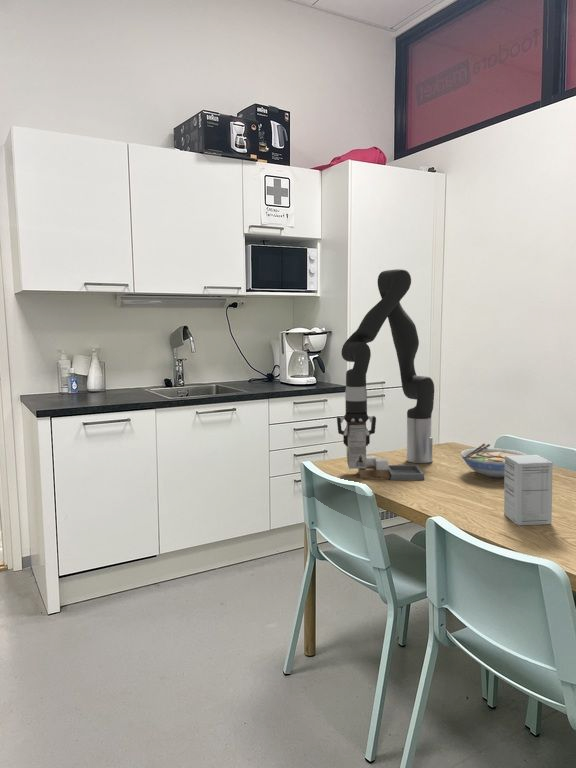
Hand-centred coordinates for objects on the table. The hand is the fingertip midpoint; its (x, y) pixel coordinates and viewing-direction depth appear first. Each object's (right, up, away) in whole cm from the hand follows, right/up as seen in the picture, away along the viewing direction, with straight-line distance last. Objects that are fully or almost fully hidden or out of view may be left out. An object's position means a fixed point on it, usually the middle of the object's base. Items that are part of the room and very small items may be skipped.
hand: (356, 445), depth 202 cm
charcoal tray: (+17, -10, 0) cm, 20 cm away
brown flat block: (+6, -11, +1) cm, 12 cm away
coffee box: (0, -7, +1) cm, 7 cm away
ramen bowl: (+48, -10, -2) cm, 49 cm away
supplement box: (+41, -15, -47) cm, 64 cm away
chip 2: (+9, -8, -2) cm, 12 cm away
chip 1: (+5, -7, +3) cm, 10 cm away
